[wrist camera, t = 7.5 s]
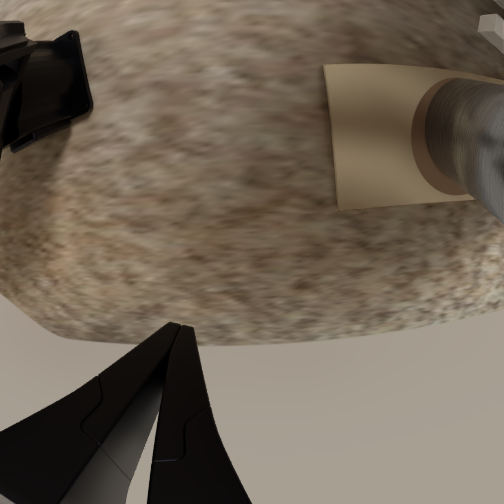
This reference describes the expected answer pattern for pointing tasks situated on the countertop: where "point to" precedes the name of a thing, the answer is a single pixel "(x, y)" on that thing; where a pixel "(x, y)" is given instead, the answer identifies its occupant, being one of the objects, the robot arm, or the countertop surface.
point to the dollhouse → (493, 28)
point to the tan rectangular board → (386, 134)
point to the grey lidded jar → (470, 139)
